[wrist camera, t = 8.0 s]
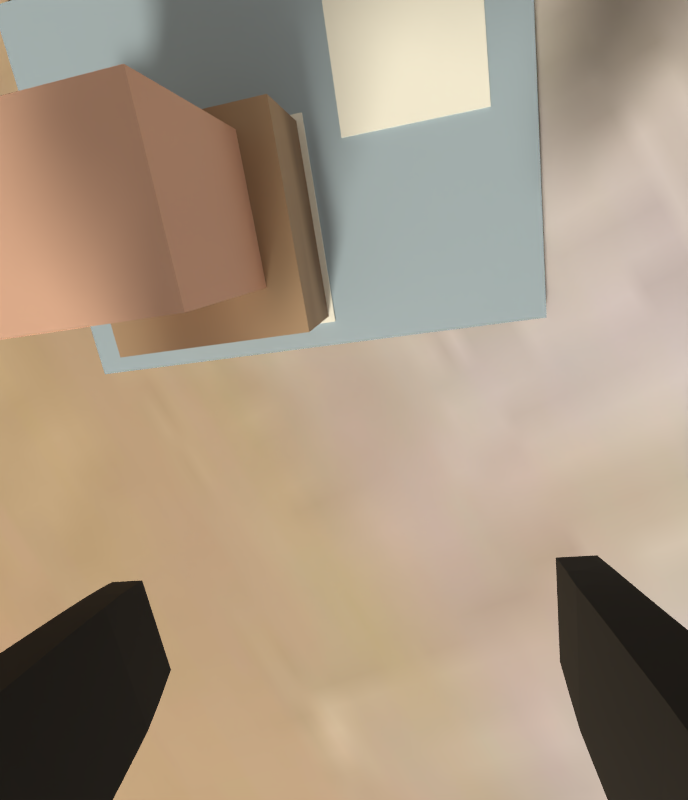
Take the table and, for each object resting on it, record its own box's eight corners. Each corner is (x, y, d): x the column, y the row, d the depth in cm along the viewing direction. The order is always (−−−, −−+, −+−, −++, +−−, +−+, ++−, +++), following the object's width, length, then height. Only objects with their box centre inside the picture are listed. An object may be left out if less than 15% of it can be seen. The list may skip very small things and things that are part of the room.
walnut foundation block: (296, 121, 15) (267, 94, 12) (328, 316, 17) (309, 332, 14) (121, 159, 16) (57, 142, 13) (168, 338, 18) (120, 357, 15)
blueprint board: (522, -141, 13) (528, -161, 12) (542, 314, 16) (547, 317, 16) (7, 14, 16) (-10, 4, 15) (114, 370, 19) (103, 375, 19)
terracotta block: (235, 129, 13) (123, 63, 8) (266, 287, 14) (185, 312, 9) (97, 159, 13) (-80, 115, 9) (137, 307, 14) (0, 340, 10)
